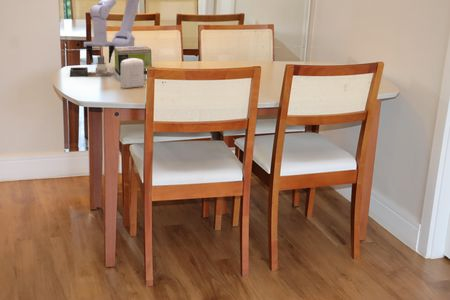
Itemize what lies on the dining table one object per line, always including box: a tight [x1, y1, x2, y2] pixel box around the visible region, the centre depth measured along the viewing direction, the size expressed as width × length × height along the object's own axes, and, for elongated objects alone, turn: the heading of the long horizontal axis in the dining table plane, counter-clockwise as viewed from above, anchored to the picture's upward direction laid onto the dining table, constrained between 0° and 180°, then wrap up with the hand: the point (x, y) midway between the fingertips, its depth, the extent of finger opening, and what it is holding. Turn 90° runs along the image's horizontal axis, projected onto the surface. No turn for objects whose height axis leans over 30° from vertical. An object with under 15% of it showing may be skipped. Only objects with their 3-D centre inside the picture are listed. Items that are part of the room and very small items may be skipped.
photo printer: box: [120, 58, 145, 89], centre depth 269 cm, size 10×4×12 cm, turn 123°
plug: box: [96, 55, 107, 70], centre depth 286 cm, size 4×4×8 cm
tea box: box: [113, 45, 153, 82], centre depth 280 cm, size 15×10×15 cm
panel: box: [69, 66, 111, 78], centre depth 286 cm, size 18×9×4 cm, turn 101°
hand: (100, 62), depth 285 cm, fingers open, 7 cm apart
